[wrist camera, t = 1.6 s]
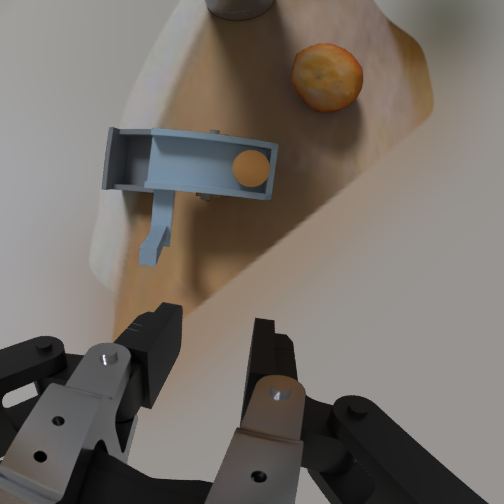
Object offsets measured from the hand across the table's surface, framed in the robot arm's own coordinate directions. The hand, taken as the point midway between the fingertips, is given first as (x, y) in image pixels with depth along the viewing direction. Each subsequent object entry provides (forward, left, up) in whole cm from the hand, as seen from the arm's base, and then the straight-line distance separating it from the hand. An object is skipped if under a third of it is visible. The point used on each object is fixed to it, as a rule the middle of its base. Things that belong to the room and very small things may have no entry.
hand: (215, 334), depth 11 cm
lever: (-4, -5, -20) cm, 21 cm away
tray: (-7, -14, -25) cm, 30 cm away
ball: (-7, -1, -18) cm, 19 cm away
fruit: (-19, +6, -25) cm, 32 cm away
